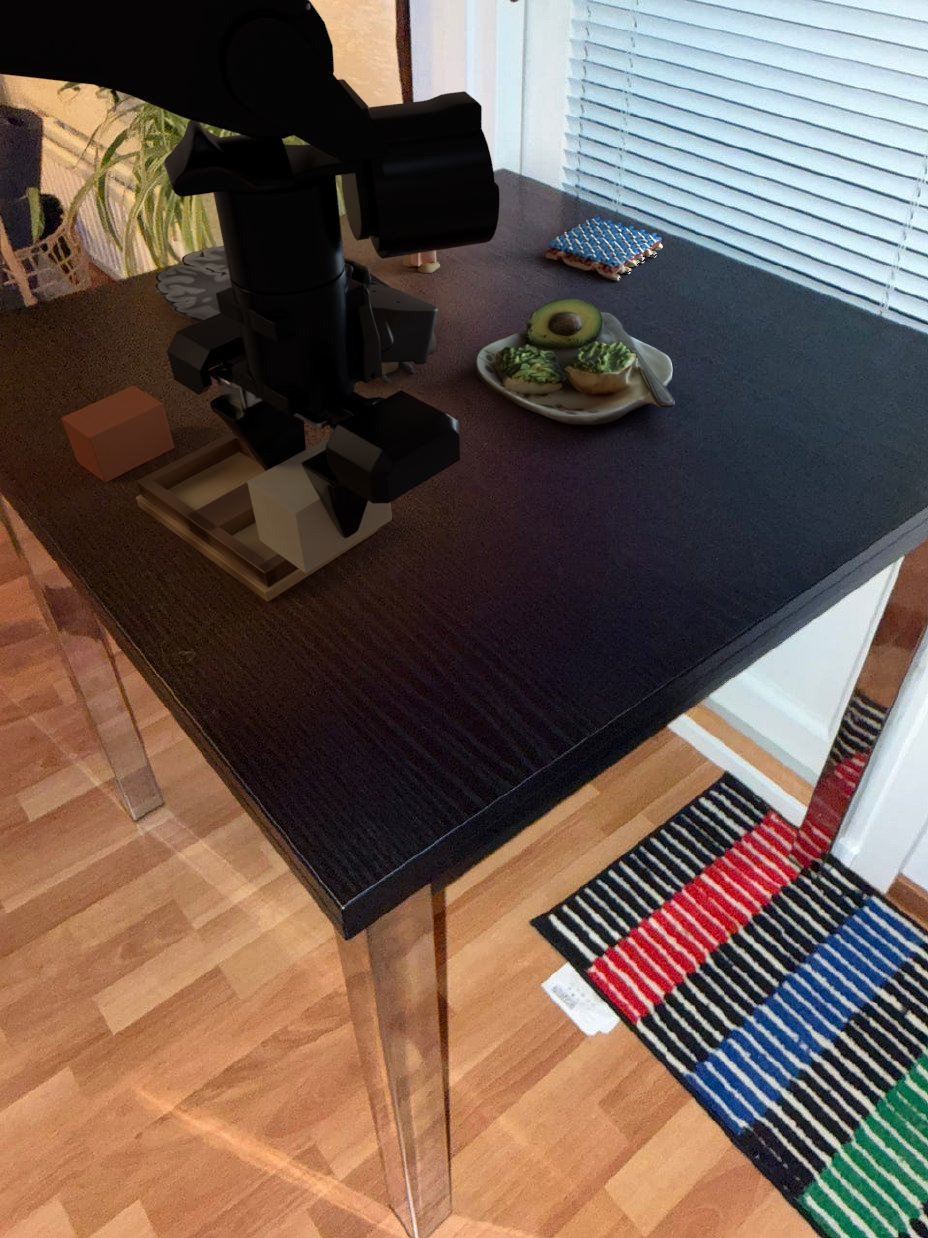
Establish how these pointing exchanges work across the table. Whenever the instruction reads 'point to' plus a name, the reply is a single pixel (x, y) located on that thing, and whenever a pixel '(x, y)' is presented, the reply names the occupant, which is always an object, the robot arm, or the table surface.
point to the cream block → (303, 514)
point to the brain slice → (195, 284)
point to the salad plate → (576, 366)
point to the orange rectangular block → (118, 433)
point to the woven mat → (604, 247)
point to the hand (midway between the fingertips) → (324, 517)
